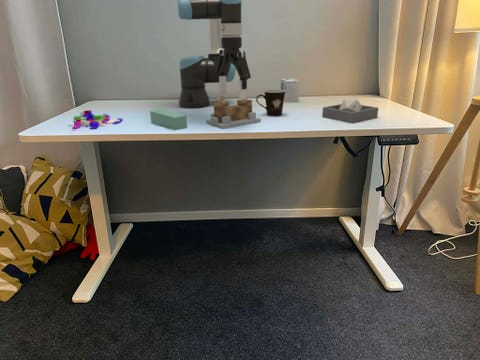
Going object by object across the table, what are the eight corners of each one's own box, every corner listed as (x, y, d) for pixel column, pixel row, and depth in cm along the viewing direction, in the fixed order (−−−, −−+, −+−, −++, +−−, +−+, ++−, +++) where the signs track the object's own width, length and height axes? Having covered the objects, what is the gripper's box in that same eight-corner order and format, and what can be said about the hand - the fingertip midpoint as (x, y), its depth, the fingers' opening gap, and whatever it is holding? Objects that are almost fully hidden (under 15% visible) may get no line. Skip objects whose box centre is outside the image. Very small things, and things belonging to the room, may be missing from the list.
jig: (222, 129, 135) (221, 119, 134) (205, 123, 144) (205, 114, 143) (261, 121, 145) (261, 112, 144) (243, 116, 154) (243, 108, 153)
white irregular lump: (335, 119, 149) (347, 103, 141) (335, 105, 154) (347, 89, 146) (353, 126, 150) (366, 110, 142) (353, 112, 155) (365, 96, 147)
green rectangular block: (151, 123, 148) (150, 110, 146) (162, 121, 151) (160, 109, 149) (176, 130, 135) (174, 117, 133) (187, 128, 138) (186, 115, 136)
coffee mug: (285, 113, 160) (286, 89, 156) (282, 117, 152) (283, 92, 148) (260, 112, 163) (260, 89, 159) (255, 116, 155) (255, 92, 151)
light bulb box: (280, 99, 192) (280, 78, 188) (292, 98, 193) (292, 77, 189) (286, 102, 183) (286, 80, 178) (298, 102, 184) (299, 80, 180)
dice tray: (322, 116, 151) (322, 107, 149) (347, 111, 159) (348, 102, 158) (351, 123, 140) (352, 113, 138) (377, 117, 148) (378, 107, 147)
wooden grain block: (220, 123, 138) (219, 98, 135) (214, 121, 142) (213, 96, 138) (252, 117, 146) (251, 94, 143) (245, 116, 150) (245, 92, 146)
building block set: (115, 129, 139) (113, 118, 138) (60, 132, 138) (57, 120, 136) (128, 116, 163) (126, 106, 161) (80, 118, 161) (78, 107, 159)
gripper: (205, 36, 140) (207, 91, 149) (243, 37, 121) (243, 101, 130) (221, 35, 144) (223, 89, 152) (260, 36, 125) (260, 98, 134)
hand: (232, 95), depth 141 cm, fingers open, 13 cm apart
